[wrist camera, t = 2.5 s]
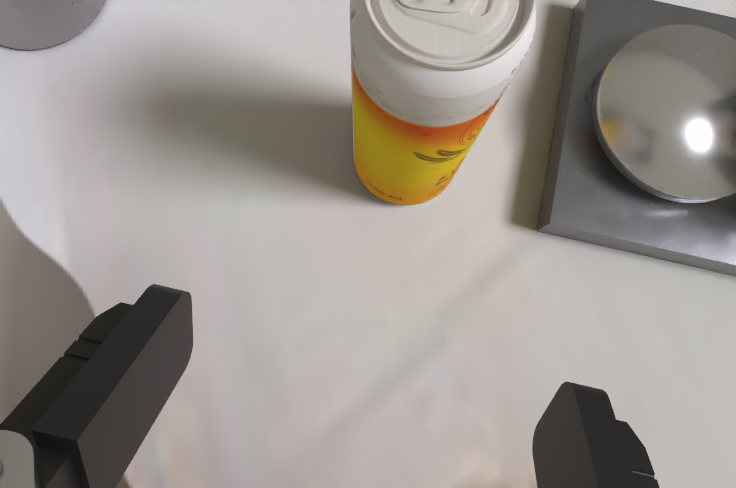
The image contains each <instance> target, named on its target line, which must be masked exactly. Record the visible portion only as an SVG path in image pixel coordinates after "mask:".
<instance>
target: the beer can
mask: <svg viewBox="0 0 736 488" xmlns="http://www.w3.org/2000/svg"><path fill="white" fill-rule="evenodd" d="M535 1H536V0H351V1H350V36H351V75H352V114H353V153H354V164H355V168H356V171H357V174H358V176H359V178H360V180H361V181H362V183H363V184H364V185H365V187H366V188H367V189H368V190H369V191H370V192H372V193H373V194H374V195H376V196H377V197H378V198H380V199H382V200H384V201H387V202H389V203H393V204H398V205H416V204H420V203H424V202H426V201H429V200H431V199H433V198H434V197H436V196H437V195H439V194H440V193H441V192H442V191H443V190H444V189H445V188H446V187H447V186H448V185H449V183H450V181H451V180H452V178H453V176H454V175H455V173H456V171H457V170H458V168H459V166H460V165H461V163H462V161H463V160H464V158H465V156H466V155H467V153H468V151H469V150H470V148H471V146H472V145H473V143H474V141H475V140H476V138H477V136H478V135H479V133H480V131H481V130H482V128H483V126H484V125H485V123H486V121H487V120H488V118H489V116H490V115H491V113H492V111H493V110H494V108H495V106H496V104H497V103H498V101H499V99H500V98H501V96H502V94H503V93H504V91H505V89H506V88H507V86H508V84H509V83H510V81H511V79H512V78H513V76H514V74H515V73H516V71H517V69H518V68H519V66H520V64H521V63H522V61H523V59H524V58H525V56H526V54H527V53H528V50H529V48H530V46H531V44H532V40H533V37H534V33H535V27H536V8H535Z"/></svg>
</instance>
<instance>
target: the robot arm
mask: <svg viewBox="0 0 736 488" xmlns="http://www.w3.org/2000/svg"><path fill="white" fill-rule="evenodd" d="M105 1H106V0H0V45H2V46H5V47H10V48H14V49H23V50H35V49H42V48H48V47H52V46H55V45H57V44H60V43H63V42H66V41H67V40H69V39H71V38H73V37H74V36H76V35H78V34H79V33H81V32H82V31H83V30H84V29H85V28H86V27H88V26H89V25H90V24H91V23H92V22H93V20H94V19H95V18H96V17H97V15H98V14H99V13H100V11H101V9H102V7H103V5H104V3H105ZM192 348H193V325H192V300H191V295H190V293H189V292H186V291H182V290H177V289H173V288H169V287H164V286H160V285H156V284H153V285H151V286H149V287H148V288H147V289H146V290H145V292H144V293H143V294H142V295H141V297H140V298H139V299H138V300H137V301H136V303H135V304H134V305H130V304H126V303H119V304H117V305H116V306H114V307H112V308H111V309H109V310H107V311H105V312H104V313H102V314H100V315H99V316H97V317H96V318H95V319H94V320H93V321H92V322H91V324H90V325H89V326H88V327H87V328H86V329H85V330H84V331H83V333H82V334H81V335H80V336H79V339H78V340H77V341H74V343H73V344H72V345H71V346H70V347H69V348H68V349H67V350H66V352H65V353H64V356H63V357H60V358H59V359H58V361H57V362H56V363H55V364H54V365H53V366H52V367H51V368H50V370H49V371H48V372H47V373H46V374H45V375H44V376H43V378H42V379H41V380H40V381H39V382H38V383H37V384H36V385H35V387H34V388H33V389H32V390H31V391H30V392H29V393H28V395H26V397H25V398H24V399H23V400H22V401H21V402H20V404H19V405H18V406H17V407H16V408H15V409H14V410H13V411H12V412H11V414H10V415H9V416H8V417H7V418H6V419H5V420H4V421H3V422H2V423H1V424H0V488H115V487H116V486H117V484H118V482H119V481H120V479H121V477H122V476H123V474H124V472H125V471H126V469H127V467H128V465H129V464H130V462H131V460H132V459H133V457H134V455H135V454H136V452H137V450H138V449H139V447H140V445H141V444H142V442H143V440H144V438H145V437H146V435H147V433H148V432H149V430H150V428H151V427H152V425H153V423H154V422H155V420H156V418H157V416H158V415H159V413H160V411H161V410H162V408H163V406H164V405H165V403H166V401H167V400H168V398H169V396H170V394H171V393H172V391H173V389H174V388H175V386H176V384H177V383H178V381H179V379H180V378H181V376H182V374H183V372H184V371H185V369H186V367H187V365H188V362H189V359H190V356H191V353H192ZM533 459H534V466H535V473H536V480H537V487H538V488H659V485H658V482H657V480H656V479H654V475H655V474H654V471H653V468H652V465H651V462H650V460H649V457H648V454H647V451H646V448H645V447H644V445H643V444H642V442H641V441H640V440H639V438H638V437H637V436H636V434H635V433H634V431H633V430H632V429H631V427H630V426H629V425H628V423H627V422H623V421H619V420H616V418H615V415H614V412H613V409H612V406H611V403H610V400H609V397H608V395H607V393H606V392H605V391H603V390H601V389H596V388H592V387H588V386H584V385H579V384H575V383H571V382H564V383H563V384H562V385H561V386H560V388H559V389H558V391H557V393H556V394H555V396H554V398H553V399H552V401H551V402H550V404H549V406H548V407H547V409H546V411H545V412H544V414H543V416H542V417H541V419H540V421H539V422H538V424H537V426H536V429H535V432H534V437H533Z"/></svg>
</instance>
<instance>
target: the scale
mask: <svg viewBox="0 0 736 488" xmlns="http://www.w3.org/2000/svg"><path fill="white" fill-rule="evenodd" d="M677 24H685V25H696V26H703V27H706V28H710V29H714V30H716V31H719V32H721V33H724V34H726V35H728V36H730V37H732V38H734V39H735V40H736V18H733V17H728V16H724V15H719V14H714V13H710V12H705V11H700V10H696V9H691V8H686V7H682V6H677V5H672V4H668V3H663V2H658V1H654V0H579V2H578V3H577V5H576V6H575V8H574V13H573V19H572V25H571V31H570V37H569V43H568V49H567V55H566V61H565V67H564V73H563V79H562V85H561V91H560V96H559V102H558V108H557V114H556V120H555V126H554V132H553V138H552V144H551V150H550V156H549V162H548V168H547V174H546V180H545V186H544V192H543V197H542V203H541V209H540V215H539V221H538V227H537V231H540V232H544V233H549V234H553V235H557V236H562V237H566V238H571V239H575V240H580V241H584V242H588V243H593V244H597V245H602V246H606V247H611V248H615V249H619V250H624V251H628V252H633V253H637V254H642V255H646V256H650V257H655V258H659V259H664V260H668V261H673V262H677V263H681V264H686V265H690V266H695V267H699V268H704V269H708V270H713V271H717V272H721V273H726V274H730V275H735V276H736V193H734V194H731V195H729V196H726V197H723V198H721V199H718V200H714V201H709V202H702V203H682V202H676V201H671V200H667V199H664V198H660V197H658V196H655V195H653V194H651V193H648V192H646V191H645V190H643V189H641V188H639V187H638V186H636V185H635V184H634V183H632V182H631V181H629V180H628V179H627V178H626V177H625V176H624V175H623V174H622V173H620V172H619V171H618V169H617V168H616V167H615V166H614V165H613V164H612V162H611V161H610V160H609V158H608V157H607V155H606V153H605V152H604V150H603V148H602V146H601V144H600V142H599V140H598V137H597V134H596V131H595V126H594V121H593V110H592V106H593V96H594V91H595V87H596V84H597V82H598V79H599V77H600V75H601V73H602V71H603V70H604V68H605V67H606V65H607V64H608V63H609V62H610V60H611V59H612V58H613V57H614V56H615V55H616V54H617V53H618V52H619V50H620V49H621V48H623V47H624V46H625V45H626V44H627V43H628V42H629V41H631V40H632V39H633V38H635V37H636V36H638V35H640V34H642V33H644V32H646V31H649V30H651V29H654V28H657V27H662V26H667V25H677Z"/></svg>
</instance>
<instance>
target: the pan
mask: <svg viewBox="0 0 736 488" xmlns="http://www.w3.org/2000/svg"><path fill="white" fill-rule="evenodd" d="M592 110H593V121H594V126H595V131H596V134H597V137H598V140H599V142H600V144H601V146H602V148H603V150H604V152H605V153H606V155H607V157H608V158H609V160H610V161H611V162H612V164H613V165H614V166H615V167H616V168H617V169H618V171H619V172H620V173H622V174H623V175H624V176H625V177H626V178H627V179H628V180H629V181H631V182H632V183H634V184H635V185H636V186H638V187H639V188H641V189H643V190H645V191H646V192H648V193H651V194H653V195H655V196H658V197H660V198H664V199H667V200H671V201H676V202H682V203H702V202H709V201H714V200H718V199H721V198H723V197H726V196H729V195H731V194H734V193H736V40H735V39H734V38H732V37H730V36H728V35H726V34H724V33H721V32H719V31H716V30H714V29H710V28H706V27H703V26H696V25H685V24H677V25H667V26H662V27H657V28H654V29H651V30H649V31H646V32H644V33H642V34H640V35H638V36H636V37H635V38H633V39H632V40H631V41H629V42H628V43H627V44H626V45H625V46H624V47H623V48H621V49H620V50H619V52H618V53H617V54H616V55H615V56H614V57H613V58H612V59H611V60H610V62H609V63H608V64H607V65H606V67H605V68H604V70H603V71H602V73H601V75H600V77H599V79H598V82H597V84H596V87H595V91H594V96H593V106H592Z"/></svg>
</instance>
